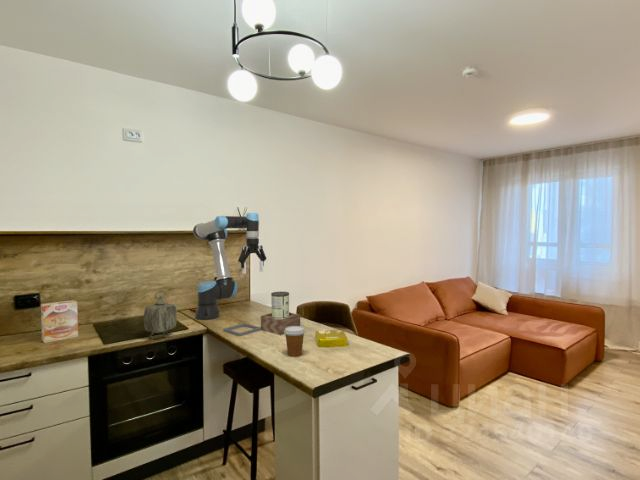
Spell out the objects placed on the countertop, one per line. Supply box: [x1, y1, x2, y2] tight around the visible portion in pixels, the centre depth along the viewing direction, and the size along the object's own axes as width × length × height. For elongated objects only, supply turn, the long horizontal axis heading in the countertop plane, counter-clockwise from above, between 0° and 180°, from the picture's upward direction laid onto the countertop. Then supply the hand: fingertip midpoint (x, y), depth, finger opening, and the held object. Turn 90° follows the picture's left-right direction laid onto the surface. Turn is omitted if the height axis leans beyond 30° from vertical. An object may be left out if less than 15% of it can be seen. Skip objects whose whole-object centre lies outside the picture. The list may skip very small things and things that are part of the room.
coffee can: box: [270, 291, 290, 319], centre depth 203 cm, size 10×10×14 cm
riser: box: [260, 311, 301, 336], centre depth 203 cm, size 16×16×8 cm
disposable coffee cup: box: [284, 325, 306, 357], centre depth 162 cm, size 10×10×12 cm
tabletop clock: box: [143, 290, 178, 340], centre depth 190 cm, size 14×9×25 cm, turn 152°
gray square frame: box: [222, 322, 262, 337], centre depth 201 cm, size 15×15×2 cm
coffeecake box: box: [40, 299, 79, 344], centre depth 188 cm, size 15×7×20 cm, turn 137°
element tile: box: [314, 329, 348, 348], centre depth 180 cm, size 15×15×5 cm
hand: (252, 272), depth 217 cm, fingers open, 13 cm apart
